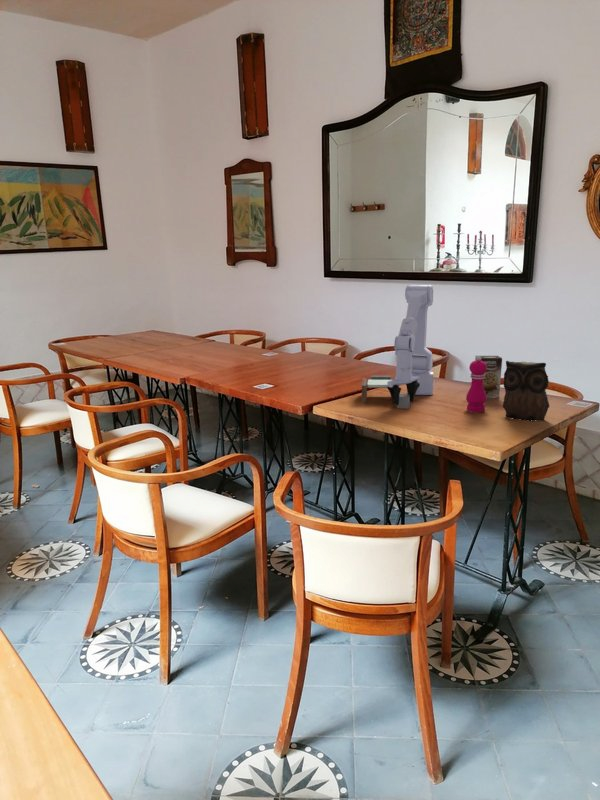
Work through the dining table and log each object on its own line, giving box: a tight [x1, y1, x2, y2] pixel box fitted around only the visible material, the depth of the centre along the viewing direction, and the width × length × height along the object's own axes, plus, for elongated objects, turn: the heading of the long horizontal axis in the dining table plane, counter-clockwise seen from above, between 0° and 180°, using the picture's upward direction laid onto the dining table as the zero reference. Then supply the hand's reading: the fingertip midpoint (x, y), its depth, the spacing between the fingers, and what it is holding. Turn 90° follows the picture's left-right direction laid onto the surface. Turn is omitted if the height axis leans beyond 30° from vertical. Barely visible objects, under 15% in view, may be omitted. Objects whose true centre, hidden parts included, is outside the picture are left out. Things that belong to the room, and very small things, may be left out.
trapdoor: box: [367, 375, 393, 387], centre depth 226 cm, size 10×12×2 cm
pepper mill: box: [465, 355, 488, 413], centre depth 207 cm, size 7×7×20 cm
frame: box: [361, 377, 400, 404], centre depth 227 cm, size 14×13×7 cm
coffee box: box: [474, 355, 503, 399], centre depth 225 cm, size 9×6×16 cm
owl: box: [502, 360, 550, 422], centre depth 197 cm, size 13×13×20 cm
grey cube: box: [396, 393, 411, 409], centre depth 216 cm, size 4×4×4 cm
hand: (403, 402), depth 216 cm, fingers open, 7 cm apart
